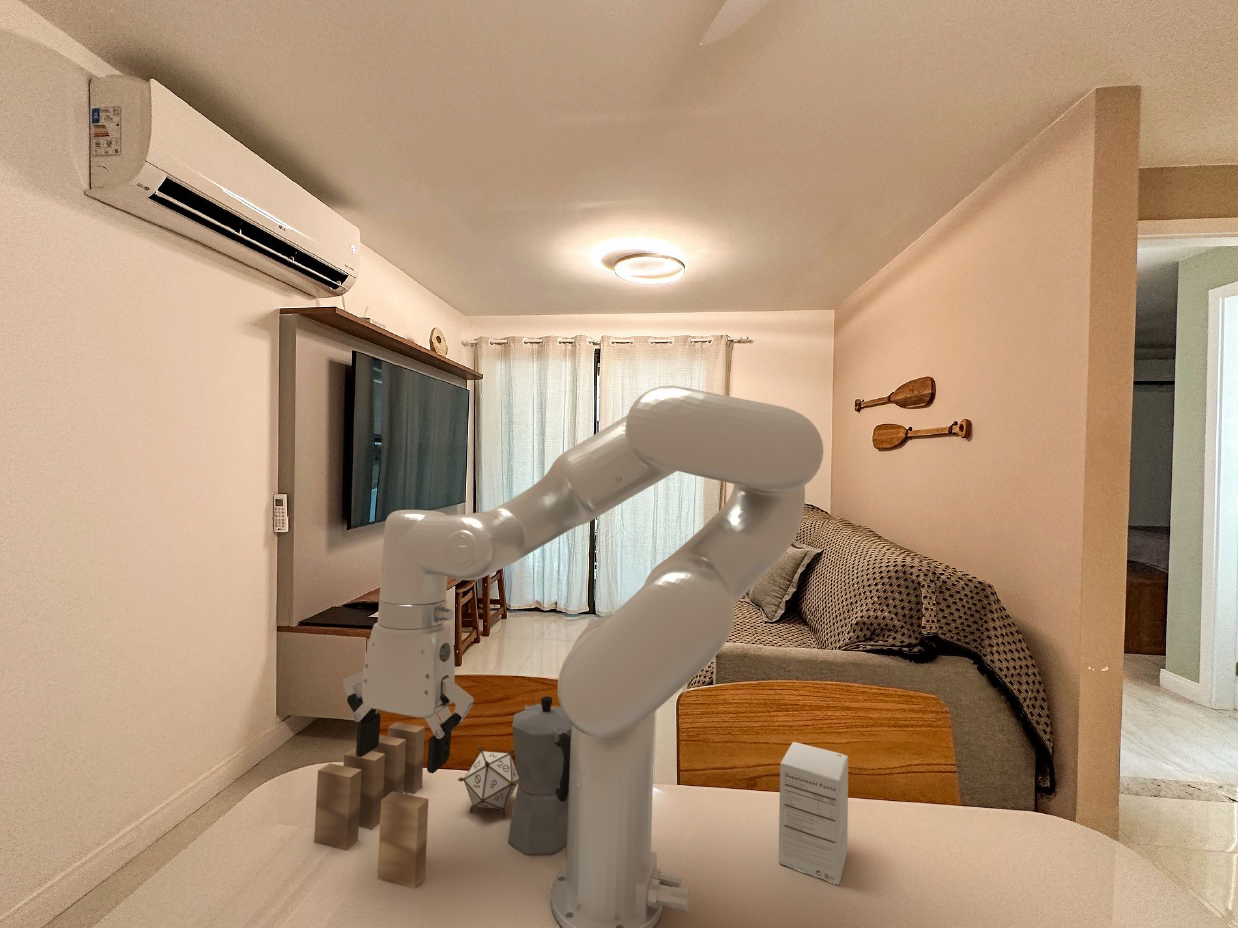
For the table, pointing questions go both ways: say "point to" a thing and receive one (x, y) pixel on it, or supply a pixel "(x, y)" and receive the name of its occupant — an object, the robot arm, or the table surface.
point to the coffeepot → (541, 779)
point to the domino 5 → (403, 839)
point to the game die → (491, 780)
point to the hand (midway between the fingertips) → (401, 759)
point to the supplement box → (814, 811)
